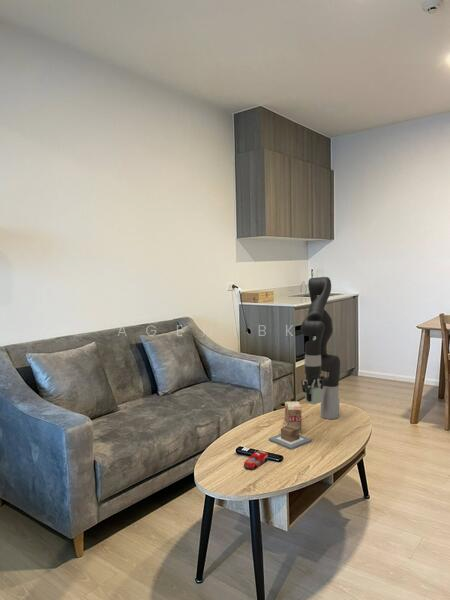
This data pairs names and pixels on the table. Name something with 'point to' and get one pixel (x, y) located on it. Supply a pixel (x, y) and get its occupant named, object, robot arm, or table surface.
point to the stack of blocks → (293, 414)
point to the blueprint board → (273, 439)
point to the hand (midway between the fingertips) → (313, 399)
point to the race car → (256, 460)
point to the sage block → (314, 395)
